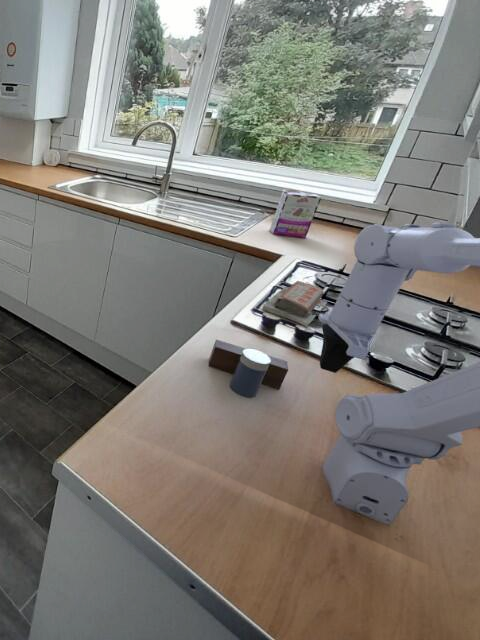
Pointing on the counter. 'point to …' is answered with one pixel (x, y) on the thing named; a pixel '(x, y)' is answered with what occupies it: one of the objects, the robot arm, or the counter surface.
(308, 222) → the candy bar box
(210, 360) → the pale-topped brown beam
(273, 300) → the packaged product
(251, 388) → the blue lidded container
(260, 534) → the counter surface
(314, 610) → the counter surface
